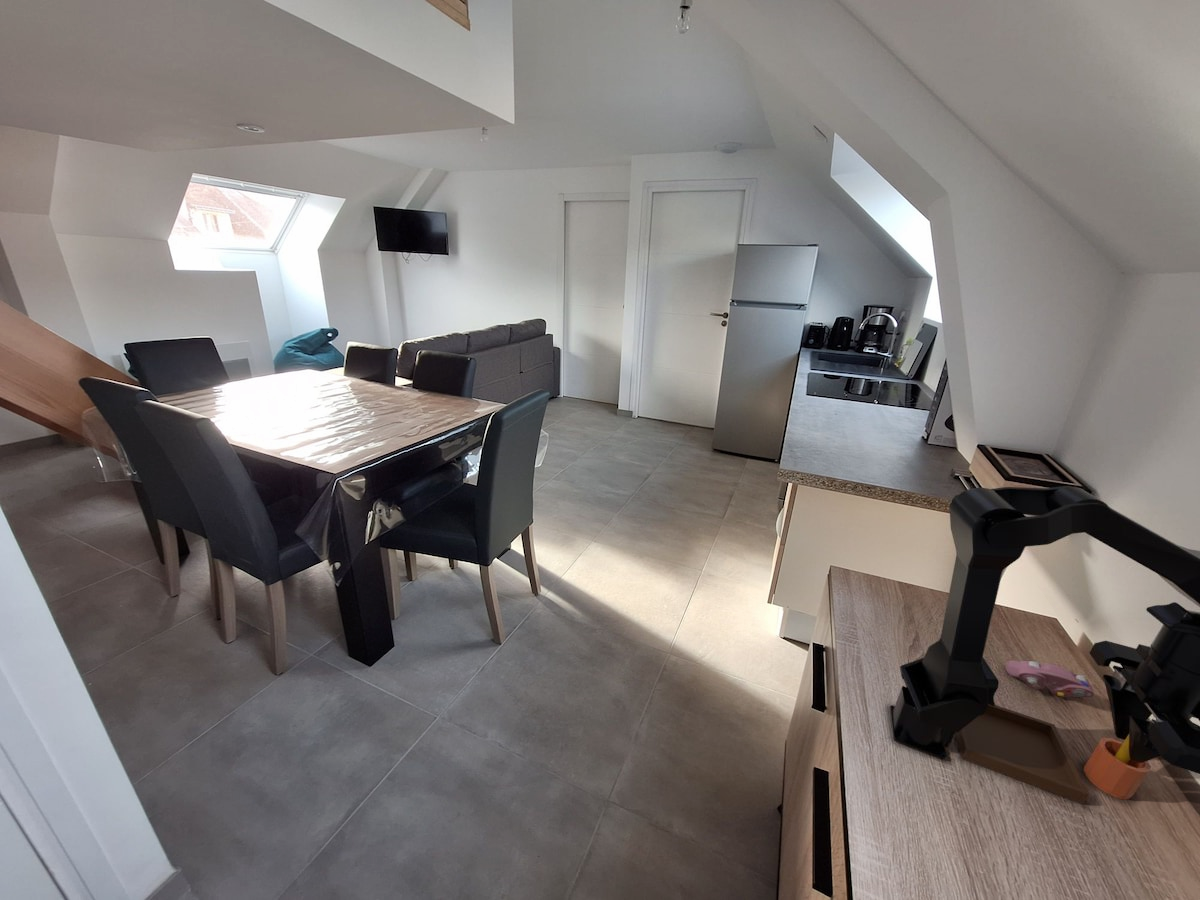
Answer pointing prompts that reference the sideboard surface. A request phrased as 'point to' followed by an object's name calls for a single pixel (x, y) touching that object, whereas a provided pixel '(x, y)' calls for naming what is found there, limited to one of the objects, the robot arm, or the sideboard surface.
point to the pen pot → (1114, 770)
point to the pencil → (1123, 752)
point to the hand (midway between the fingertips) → (1127, 749)
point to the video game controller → (1051, 678)
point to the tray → (1022, 751)
